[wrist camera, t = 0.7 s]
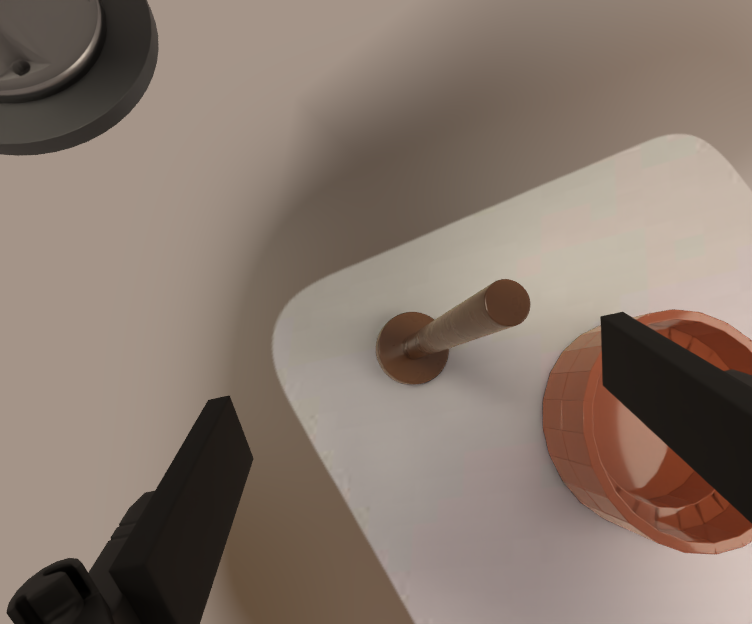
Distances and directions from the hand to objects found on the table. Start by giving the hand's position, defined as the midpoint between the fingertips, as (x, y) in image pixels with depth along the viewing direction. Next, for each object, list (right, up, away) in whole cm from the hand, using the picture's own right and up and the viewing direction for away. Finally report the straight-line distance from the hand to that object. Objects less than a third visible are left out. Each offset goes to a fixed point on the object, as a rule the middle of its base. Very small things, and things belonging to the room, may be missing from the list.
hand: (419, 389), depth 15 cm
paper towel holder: (+1, -1, +22) cm, 22 cm away
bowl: (+21, -7, +23) cm, 33 cm away
